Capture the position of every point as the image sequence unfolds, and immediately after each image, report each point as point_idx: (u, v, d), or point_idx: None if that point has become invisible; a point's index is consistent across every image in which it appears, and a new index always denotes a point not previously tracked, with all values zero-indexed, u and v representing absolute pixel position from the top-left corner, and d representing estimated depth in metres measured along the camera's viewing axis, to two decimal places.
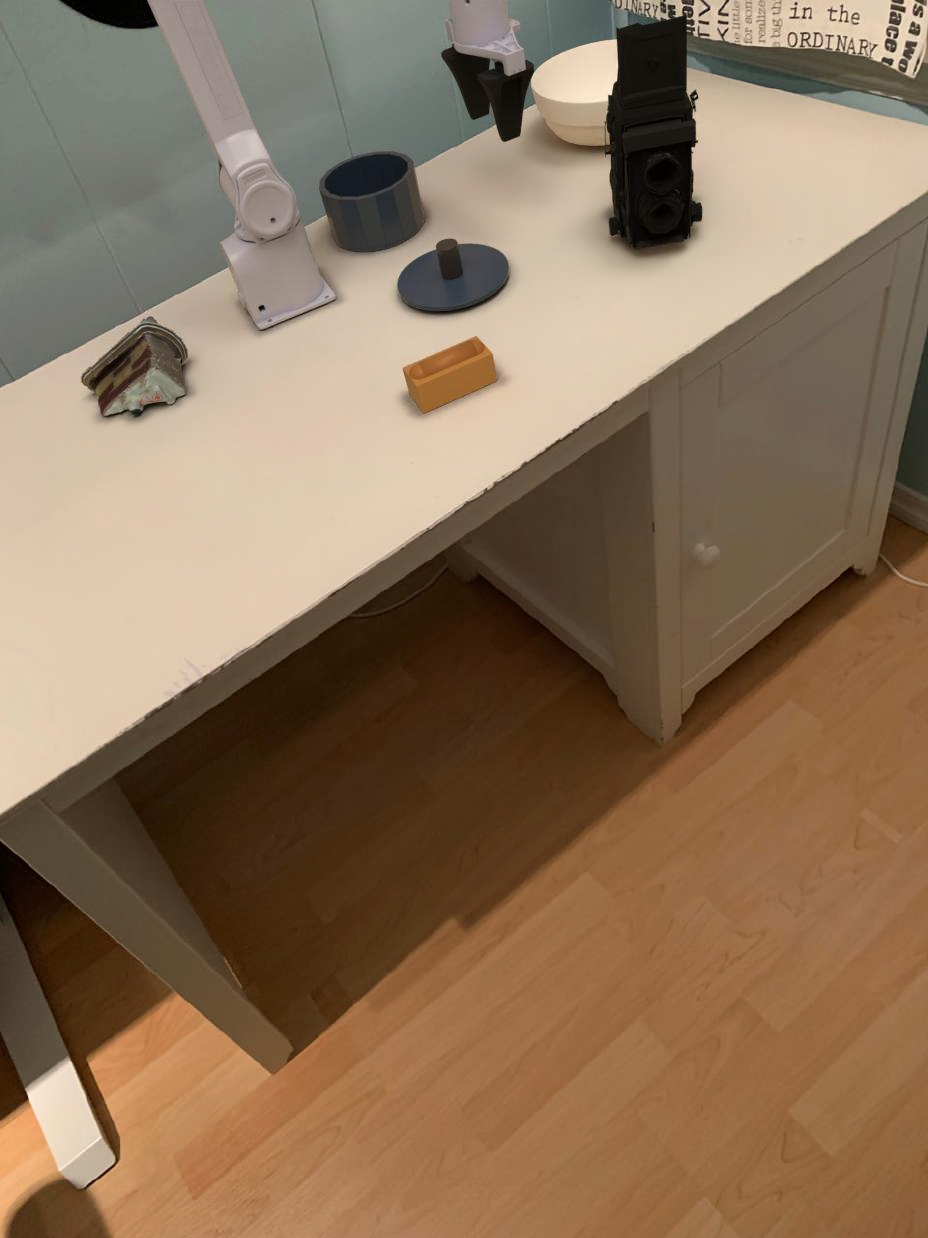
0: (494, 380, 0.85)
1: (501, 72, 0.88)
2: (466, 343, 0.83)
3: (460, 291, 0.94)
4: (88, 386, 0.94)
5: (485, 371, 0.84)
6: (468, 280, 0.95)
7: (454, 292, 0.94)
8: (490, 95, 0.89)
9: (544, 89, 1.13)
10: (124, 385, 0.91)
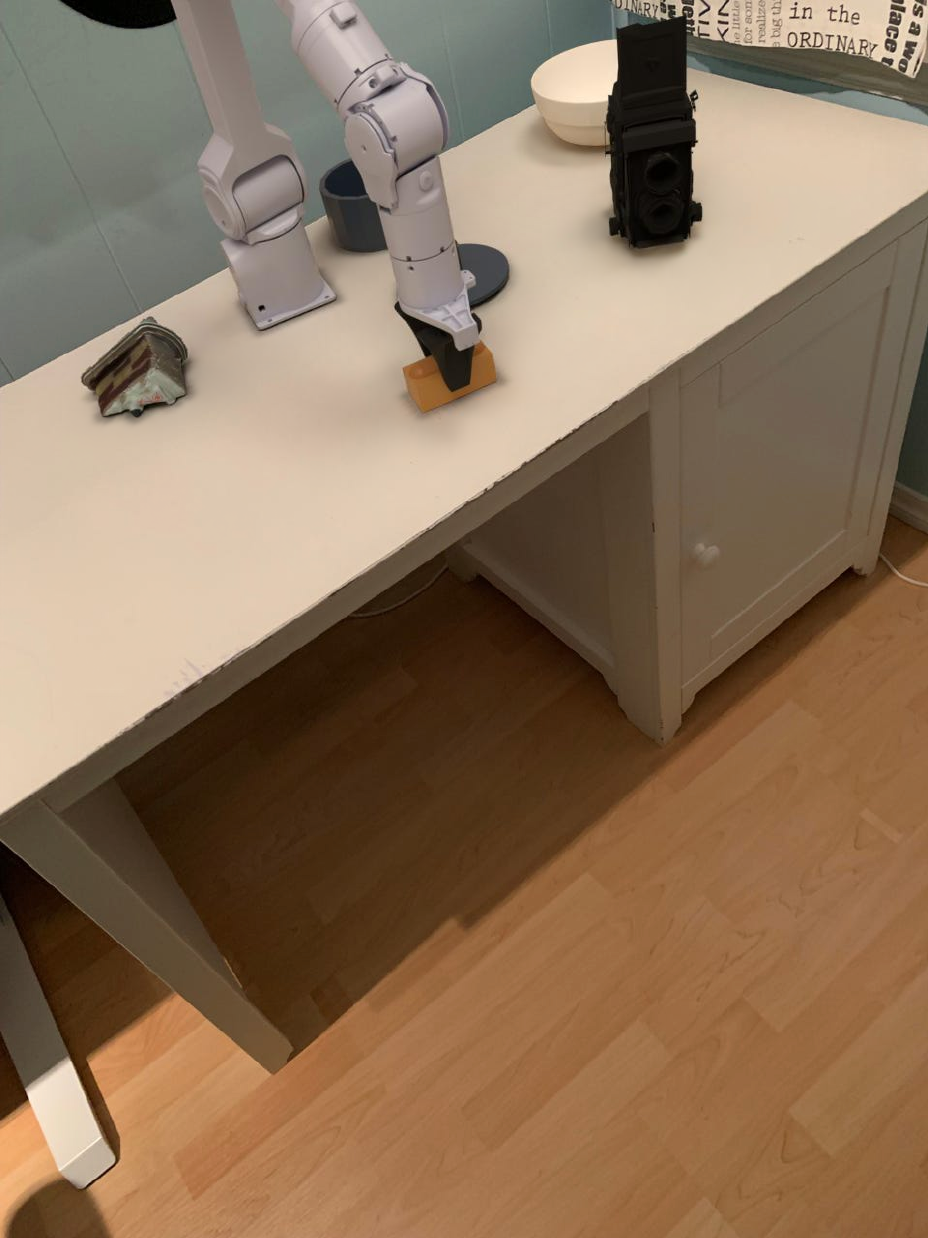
0: (494, 380, 0.85)
1: (443, 333, 0.77)
2: None
3: None
4: (88, 386, 0.94)
5: (485, 371, 0.84)
6: None
7: None
8: (432, 353, 0.78)
9: (544, 89, 1.13)
10: (124, 385, 0.91)
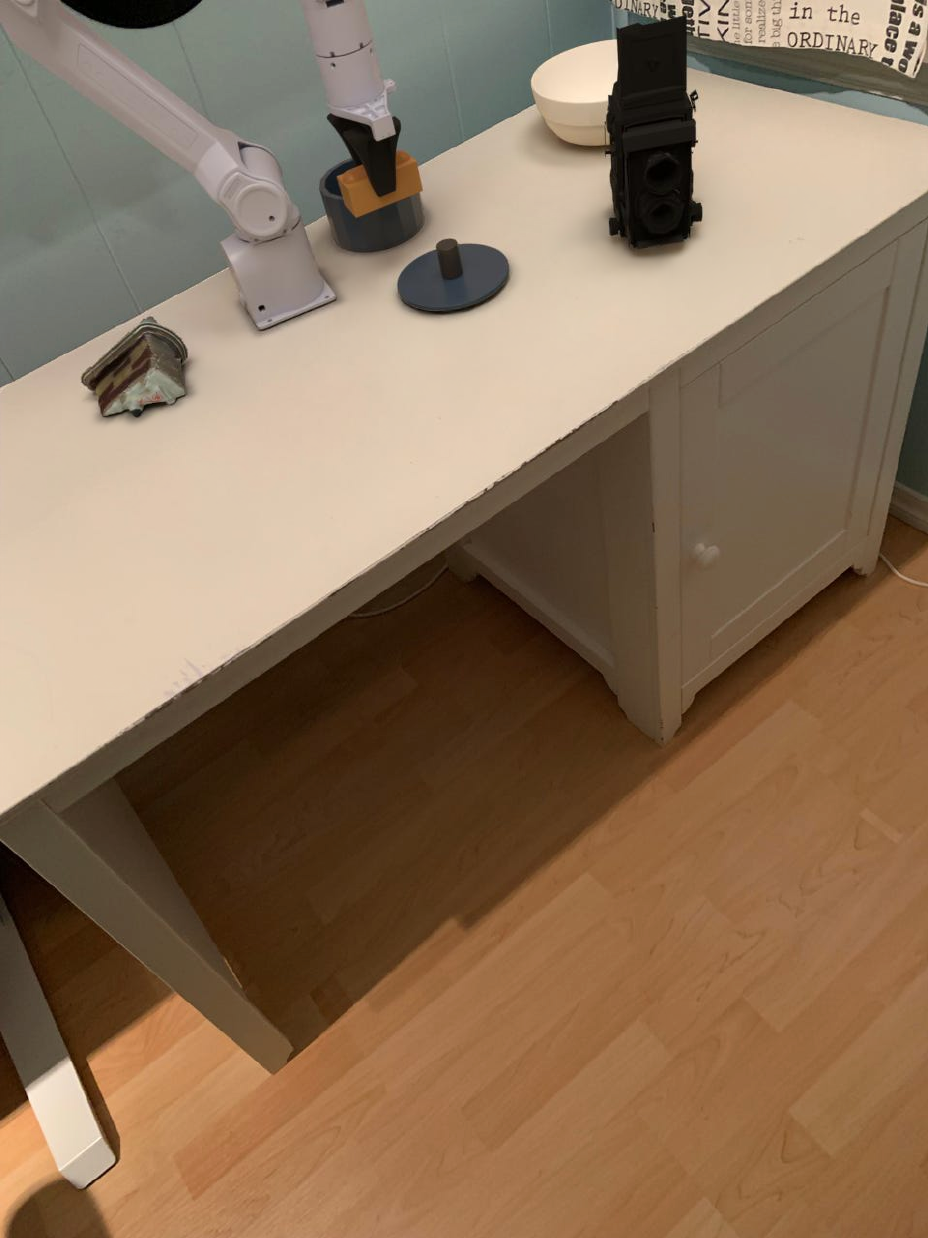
0: (420, 189, 0.94)
1: (366, 130, 0.86)
2: None
3: (460, 291, 0.94)
4: (88, 386, 0.94)
5: (411, 179, 0.93)
6: (468, 280, 0.95)
7: (454, 292, 0.94)
8: (357, 152, 0.88)
9: (544, 89, 1.13)
10: (124, 385, 0.91)
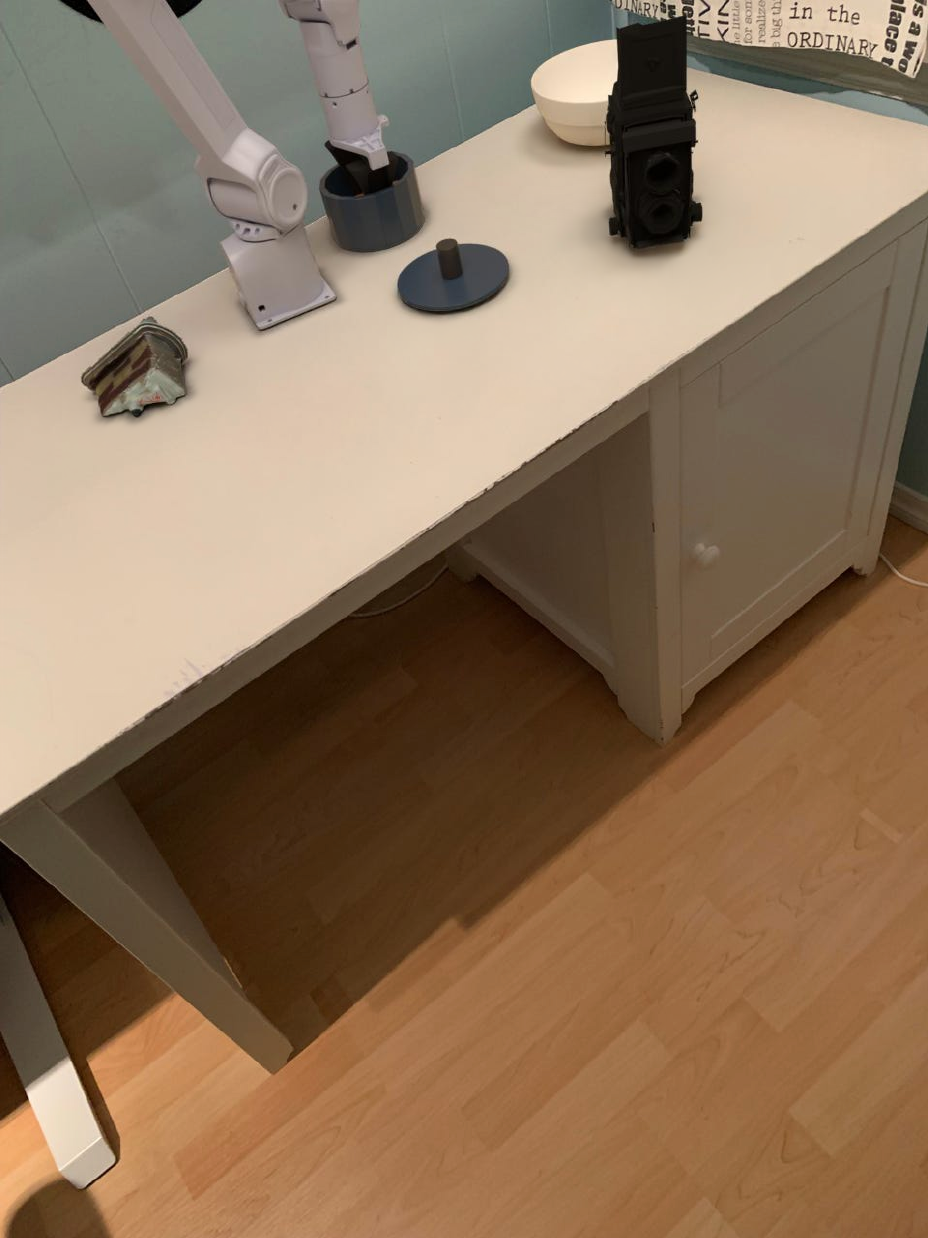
0: None
1: (366, 163, 0.97)
2: None
3: (460, 291, 0.94)
4: (88, 386, 0.94)
5: None
6: (468, 280, 0.95)
7: (454, 292, 0.94)
8: (359, 183, 0.99)
9: (544, 89, 1.13)
10: (124, 385, 0.91)
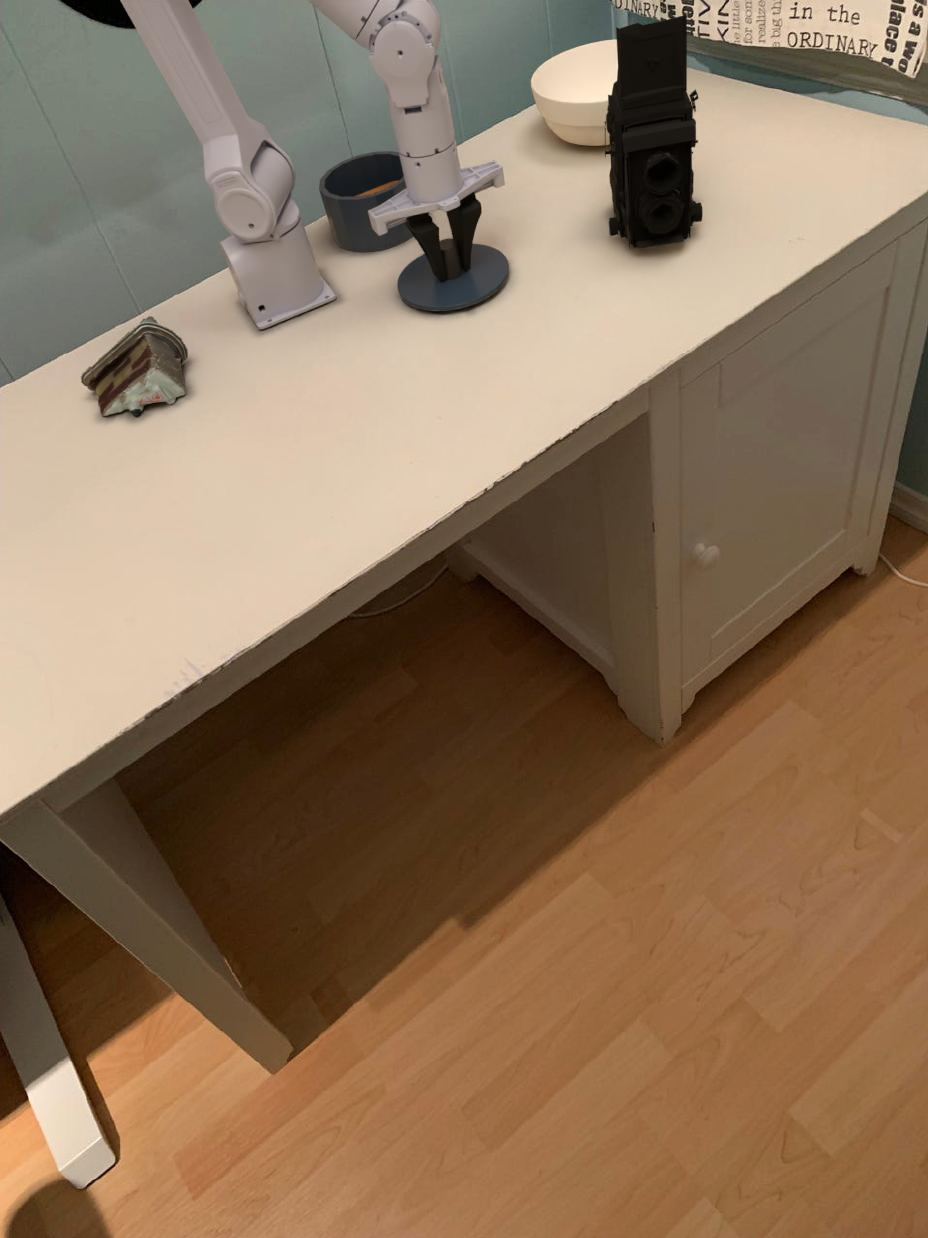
0: None
1: None
2: (388, 183, 1.05)
3: (460, 291, 0.94)
4: (88, 386, 0.94)
5: None
6: (468, 280, 0.95)
7: (454, 292, 0.94)
8: None
9: (544, 89, 1.13)
10: (124, 385, 0.91)
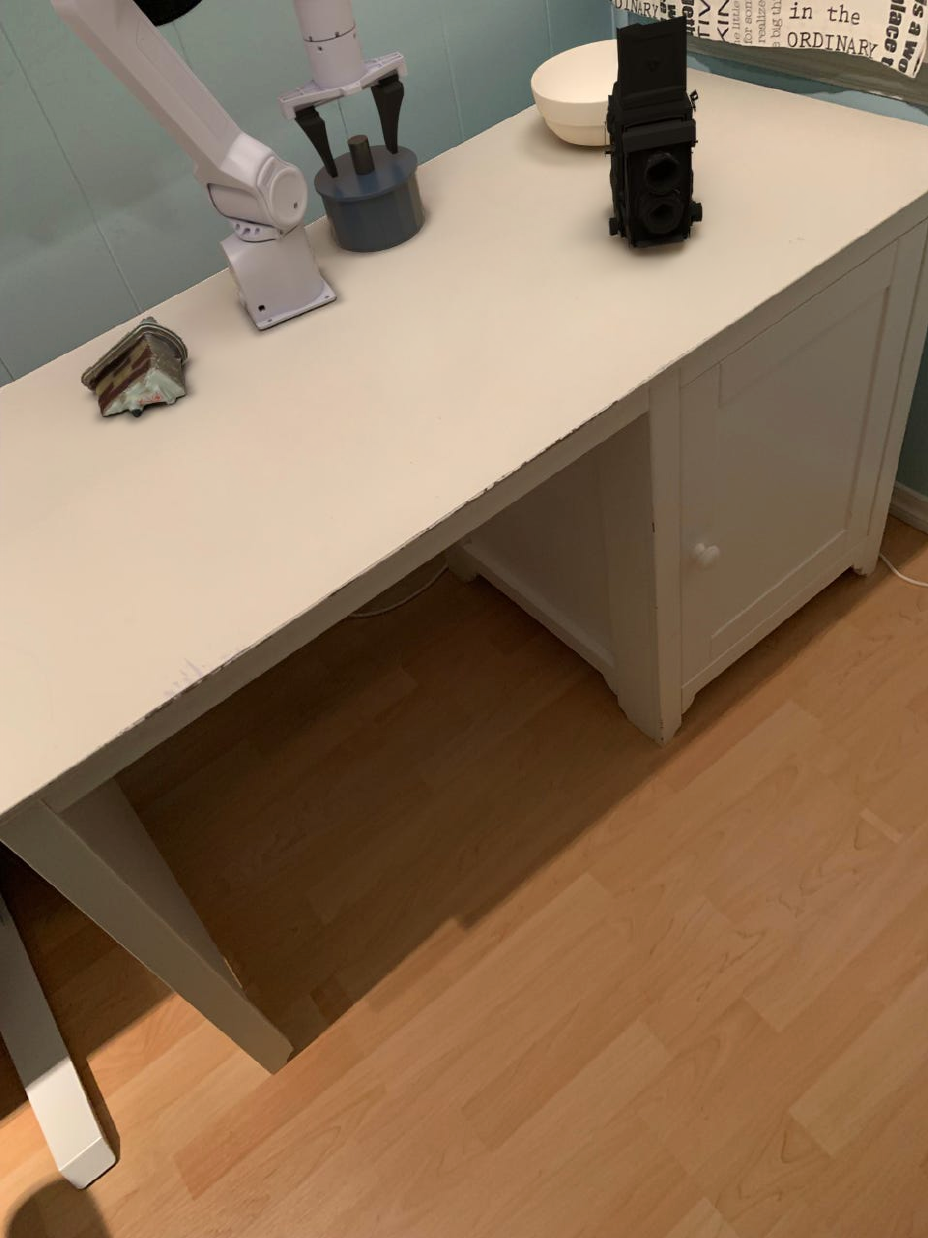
0: None
1: None
2: None
3: (370, 183, 1.00)
4: (88, 386, 0.94)
5: None
6: (379, 174, 1.01)
7: (365, 184, 1.00)
8: None
9: (544, 89, 1.13)
10: (124, 385, 0.91)
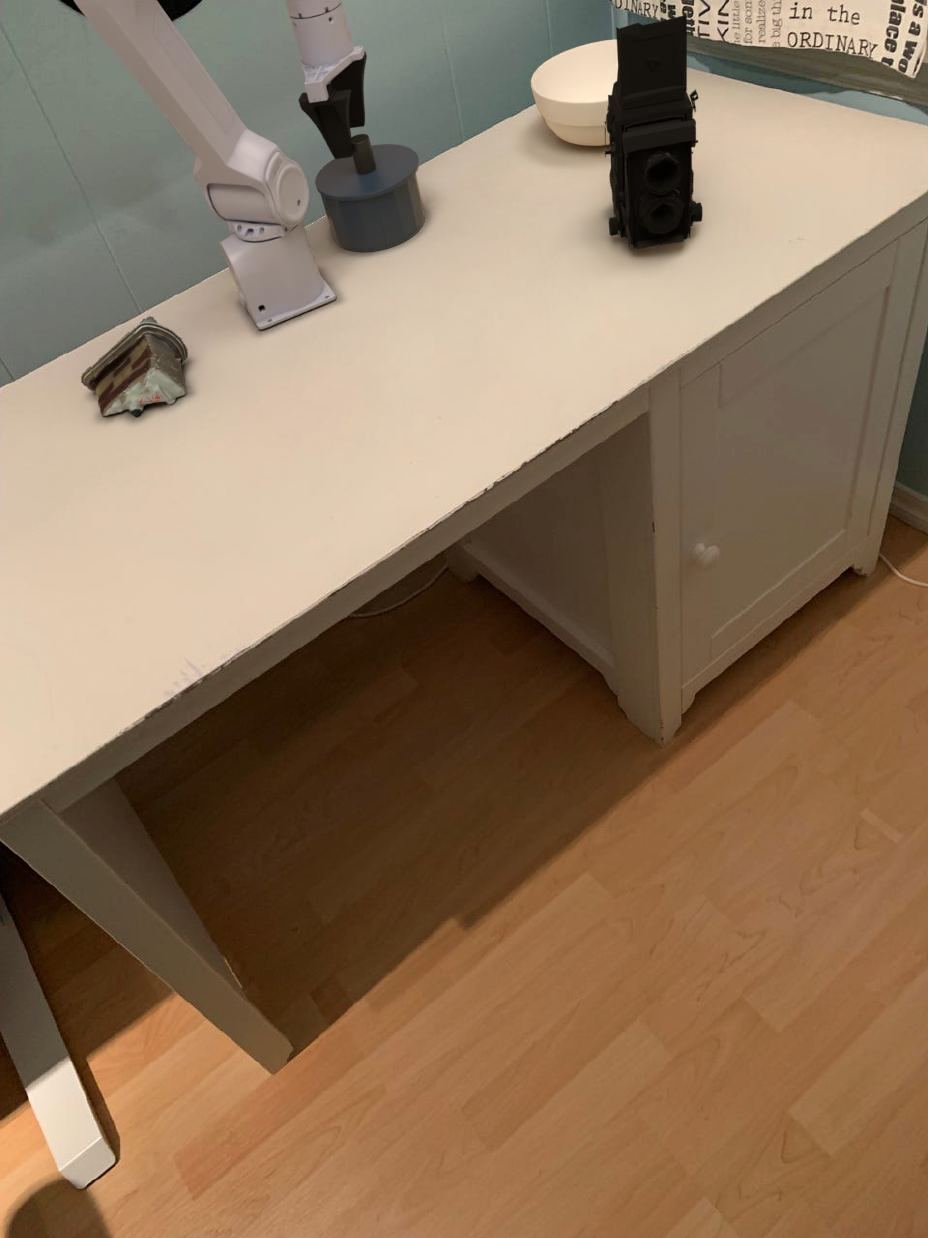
0: None
1: None
2: None
3: (372, 183, 1.00)
4: (88, 386, 0.94)
5: None
6: (380, 174, 1.01)
7: (366, 184, 1.00)
8: None
9: (544, 89, 1.13)
10: (124, 385, 0.91)
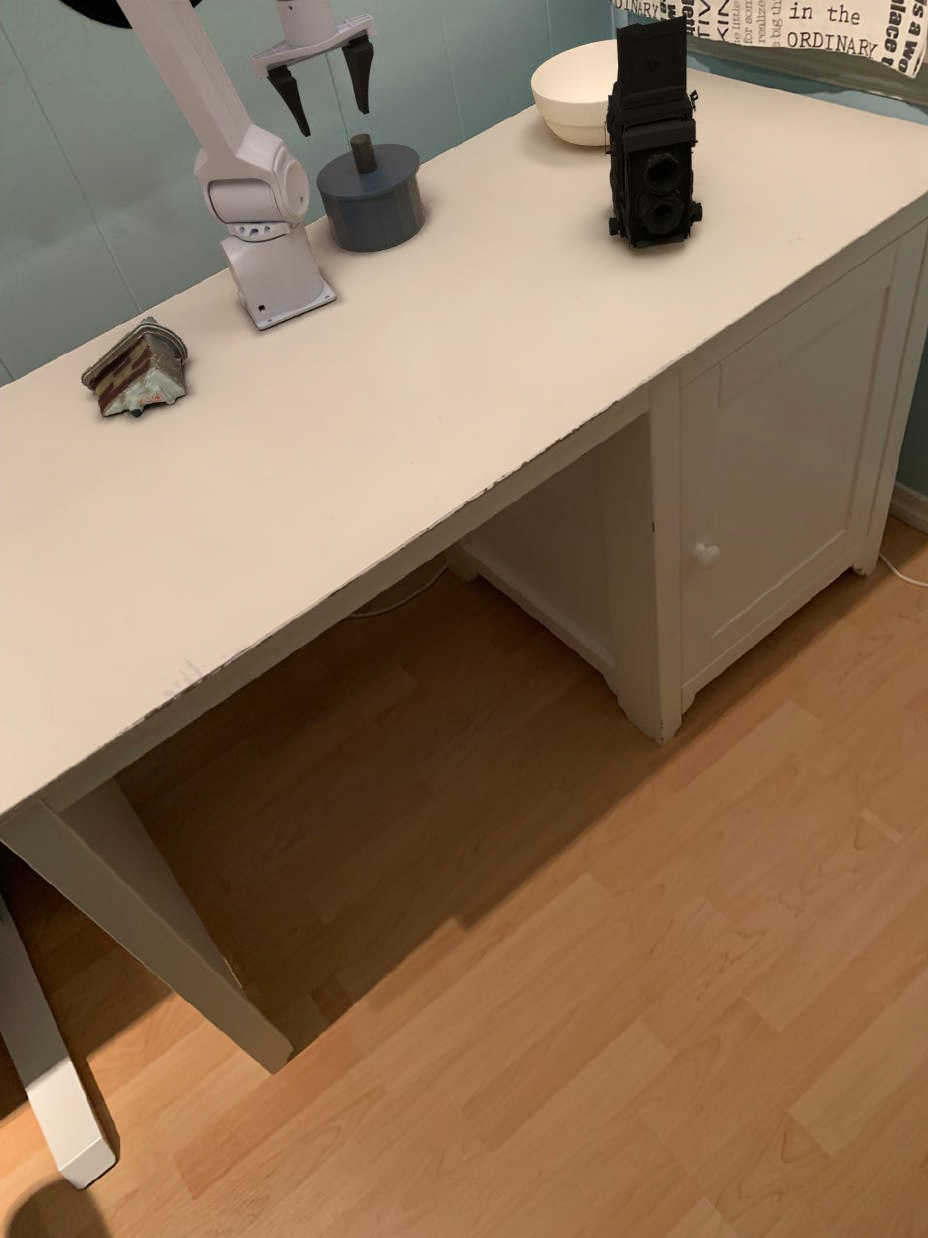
0: None
1: (363, 42, 1.00)
2: None
3: (374, 182, 1.00)
4: (88, 386, 0.94)
5: None
6: (382, 173, 1.01)
7: (368, 183, 1.00)
8: (366, 65, 1.01)
9: (544, 89, 1.13)
10: (124, 385, 0.91)
